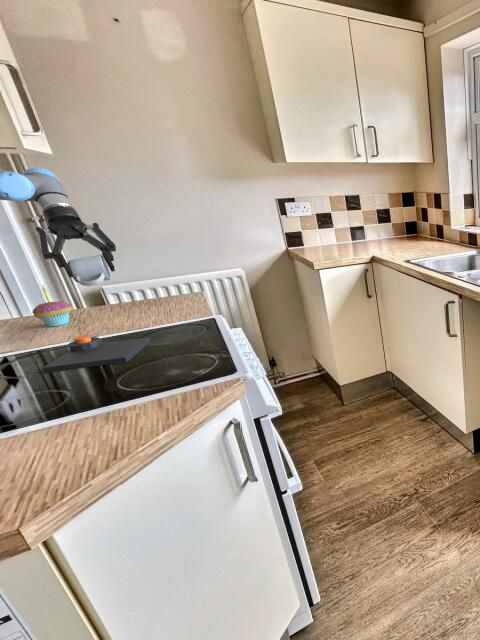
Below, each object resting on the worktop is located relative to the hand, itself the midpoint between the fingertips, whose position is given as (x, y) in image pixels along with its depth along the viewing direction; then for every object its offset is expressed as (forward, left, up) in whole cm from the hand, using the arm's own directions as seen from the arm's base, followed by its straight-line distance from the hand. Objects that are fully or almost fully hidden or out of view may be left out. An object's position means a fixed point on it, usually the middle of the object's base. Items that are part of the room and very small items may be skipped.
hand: (92, 271), depth 126 cm
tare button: (+5, -26, -14) cm, 30 cm away
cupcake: (-16, +5, -16) cm, 23 cm away
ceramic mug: (-2, +3, -4) cm, 5 cm away
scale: (+10, -31, -16) cm, 37 cm away
